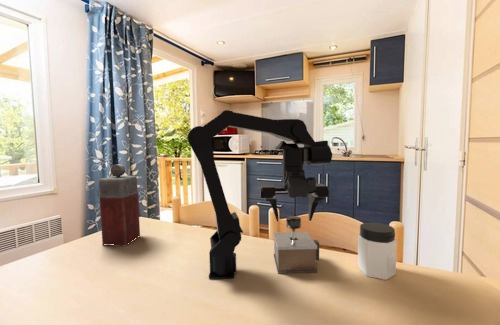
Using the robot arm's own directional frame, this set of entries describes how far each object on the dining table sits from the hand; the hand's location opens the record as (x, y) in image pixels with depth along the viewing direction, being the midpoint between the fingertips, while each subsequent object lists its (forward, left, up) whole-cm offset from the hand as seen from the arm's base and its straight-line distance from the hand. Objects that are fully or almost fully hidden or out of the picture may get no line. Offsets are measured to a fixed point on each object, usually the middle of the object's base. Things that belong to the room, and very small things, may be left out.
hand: (293, 220), depth 69 cm
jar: (+21, -5, -13) cm, 25 cm away
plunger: (0, 0, -11) cm, 11 cm away
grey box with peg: (0, 0, -12) cm, 12 cm away
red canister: (-59, +21, -13) cm, 64 cm away
